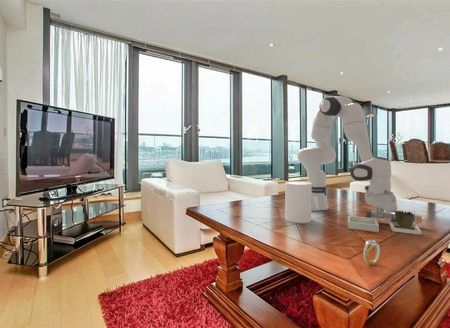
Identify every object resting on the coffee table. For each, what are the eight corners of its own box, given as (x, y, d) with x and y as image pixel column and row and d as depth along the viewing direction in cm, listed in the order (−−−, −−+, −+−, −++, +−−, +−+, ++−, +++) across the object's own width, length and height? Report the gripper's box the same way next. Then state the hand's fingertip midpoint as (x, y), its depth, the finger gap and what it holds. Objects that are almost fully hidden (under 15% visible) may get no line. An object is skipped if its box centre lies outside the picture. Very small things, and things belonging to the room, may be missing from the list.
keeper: (392, 231, 112) (392, 228, 112) (389, 225, 122) (389, 222, 122) (421, 234, 108) (421, 231, 108) (415, 227, 117) (415, 224, 117)
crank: (420, 220, 120) (420, 212, 120) (422, 224, 115) (422, 215, 115) (367, 214, 132) (367, 206, 132) (366, 217, 127) (366, 209, 127)
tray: (348, 228, 117) (348, 222, 117) (348, 221, 128) (348, 215, 128) (378, 232, 112) (378, 225, 111) (376, 224, 123) (376, 218, 123)
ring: (374, 260, 84) (374, 237, 83) (383, 264, 81) (384, 240, 80) (359, 264, 81) (360, 240, 81) (368, 268, 78) (369, 243, 78)
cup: (417, 232, 110) (418, 214, 110) (399, 231, 112) (399, 214, 111) (409, 227, 118) (409, 210, 117) (391, 226, 119) (392, 210, 119)
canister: (283, 216, 141) (283, 181, 140) (307, 216, 140) (307, 181, 139) (287, 223, 127) (288, 184, 126) (314, 223, 127) (314, 184, 125)
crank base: (391, 224, 122) (391, 220, 122) (389, 222, 126) (389, 218, 126) (404, 226, 119) (404, 222, 119) (402, 223, 124) (402, 219, 124)
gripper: (401, 192, 114) (400, 222, 114) (374, 186, 134) (373, 211, 135) (387, 192, 114) (386, 222, 114) (362, 186, 134) (362, 211, 135)
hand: (379, 216), depth 125 cm, fingers closed
